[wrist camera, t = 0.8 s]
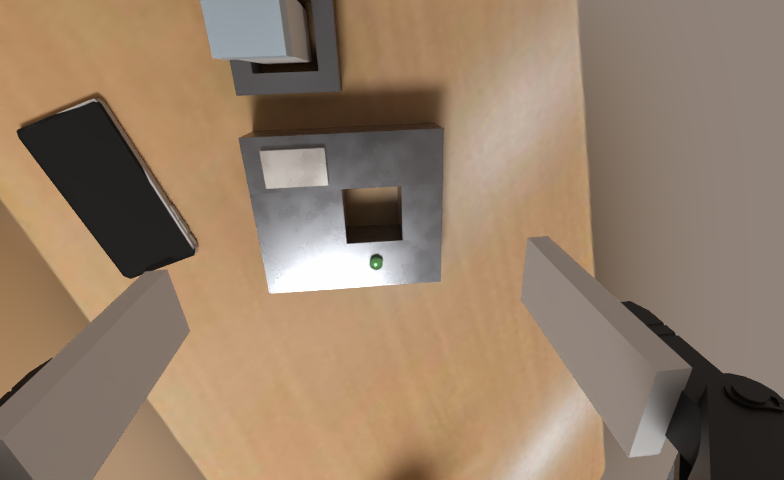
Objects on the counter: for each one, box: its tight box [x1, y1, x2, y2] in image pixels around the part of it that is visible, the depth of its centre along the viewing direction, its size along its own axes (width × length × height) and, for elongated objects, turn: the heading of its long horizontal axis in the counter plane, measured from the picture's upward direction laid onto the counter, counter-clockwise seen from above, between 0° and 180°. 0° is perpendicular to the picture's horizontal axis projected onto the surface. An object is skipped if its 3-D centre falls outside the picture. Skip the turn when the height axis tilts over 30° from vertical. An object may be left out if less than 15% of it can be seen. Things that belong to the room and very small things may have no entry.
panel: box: [239, 123, 444, 293], centre depth 33 cm, size 14×16×4 cm
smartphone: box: [17, 98, 199, 279], centre depth 33 cm, size 8×1×15 cm
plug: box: [200, 0, 312, 64], centre depth 24 cm, size 4×4×12 cm
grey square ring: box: [230, 0, 342, 96], centre depth 28 cm, size 8×8×2 cm
